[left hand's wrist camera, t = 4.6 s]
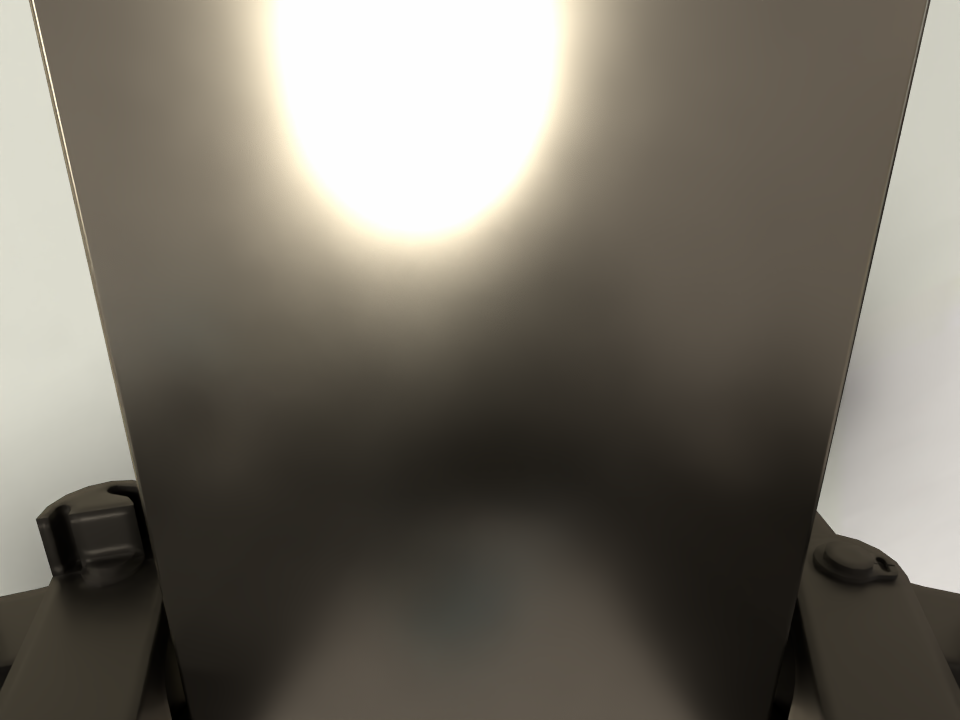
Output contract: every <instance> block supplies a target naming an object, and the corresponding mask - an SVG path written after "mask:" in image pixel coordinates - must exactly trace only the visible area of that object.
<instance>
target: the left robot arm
mask: <svg viewBox="0 0 960 720" xmlns="http://www.w3.org/2000/svg"><path fill="white" fill-rule="evenodd" d="M36 521H37V524H38V528H39V531H40V535H41V538H42V541H43V545H44V548H45V551H46V555H47V558H48V562H49V565H50V568H51V572H52V575H53V578H52V580H51V582H50V584H49V586H47V587H43V588H39V589H35V590H30V591H26V592H21V593H16V594H11V595H6V596H1V597H0V720H190V718H189V713H188V709H187V704H186V700H185V696H184V691H183V687H182V682H181V678H180V673H179V669H178V664H177V660H176V655H175V651H174V646H173V642H172V637H171V633H170V629H169V624H168V620H167V615H166V611H165V606H164V602H163V597H162V593H161V588H160V584H159V579H158V575H157V570H156V566H155V561H154V557H153V553H152V548H151V544H150V539H149V535H148V530H147V526H146V521H145V517H144V512H143V508H142V503H141V499H140V494H139V490H138V486H137V481H134V480H125V481H110V482H105V483H101V484H96V485H92V486H88V487H85V488H83V489H80V490H78V491H75V492H73V493H70V494H67V495H65V496H64V497H62V498H61V499H59V500H57V501H56V502H54V503H52V504H51V505H49V506H48V507H47V508H46V509H45V510H44V511H43V512H42V513H41V514H40V515H39V516H38V518H37V519H36ZM770 720H960V594H958V593H953V592H948V591H943V590H939V589H934V588H929V587H924V586H920V585H916V584H913V583H910V581H909V579H908V577H907V575H906V574H905V572H904V571H903V570H902V569H901V567H900V566H899V565H898V563H897V562H896V561H894V560H893V559H892V558H890V557H889V556H887V555H886V554H885V553H883V552H882V551H881V550H879V549H877V548H875V547H873V546H870V545H868V544H866V543H864V542H862V541H859V540H857V539H853V538H849V537H845V536H841V535H837V534H835V532H834V531H833V530H832V529H831V528H830V526H829V525H828V524H827V523H826V522H825V520H824V519H823V518H822V517H821V515H820V514H819V513H818V512H817V511H816V515H815V519H814V524H813V528H812V533H811V537H810V542H809V546H808V550H807V555H806V559H805V564H804V568H803V573H802V577H801V582H800V586H799V591H798V595H797V600H796V604H795V609H794V613H793V618H792V622H791V627H790V631H789V635H788V640H787V644H786V649H785V653H784V658H783V662H782V667H781V671H780V676H779V680H778V685H777V689H776V694H775V698H774V703H773V707H772V712H771V716H770Z"/></svg>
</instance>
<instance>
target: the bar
mask: <svg viewBox="0 0 960 720" xmlns="http://www.w3.org/2000/svg"><path fill="white" fill-rule="evenodd" d="M29 3H30V7H31V12H32V16H33V21H34V25H35V30H36V34H37V39H38V43H39V48H40V52H41V57H42V61H43V65H44V70H45V74H46V79H47V83H48V88H49V92H50V97H51V101H52V106H53V110H54V115H55V119H56V124H57V128H58V132H59V137H60V141H61V146H62V150H63V155H64V159H65V164H66V168H67V173H68V177H69V182H70V186H71V191H72V195H73V200H74V204H75V208H76V213H77V217H78V222H79V226H80V231H81V235H82V240H83V244H84V249H85V253H86V258H87V262H88V267H89V271H90V275H91V280H92V284H93V289H94V293H95V298H96V302H97V307H98V311H99V316H100V320H101V325H102V329H103V334H104V338H105V343H106V347H107V351H108V356H109V360H110V365H111V369H112V374H113V378H114V383H115V387H116V392H117V396H118V401H119V405H120V410H121V414H122V418H123V423H124V427H125V432H126V436H127V441H128V445H129V450H130V454H131V459H132V463H133V468H134V472H135V477H136V481H137V486H138V490H139V494H140V499H141V503H142V508H143V512H144V517H145V521H146V526H147V530H148V535H149V539H150V544H151V548H152V553H153V557H154V561H155V566H156V570H157V575H158V579H159V584H160V588H161V593H162V597H163V602H164V606H165V611H166V615H167V620H168V624H169V629H170V633H171V637H172V642H173V646H174V651H175V655H176V660H177V664H178V669H179V673H180V678H181V682H182V687H183V691H184V696H185V700H186V704H187V709H188V713H189V718H190V720H770V716H771V712H772V707H773V703H774V698H775V694H776V689H777V685H778V680H779V676H780V671H781V667H782V662H783V658H784V653H785V649H786V644H787V640H788V635H789V631H790V627H791V622H792V618H793V613H794V609H795V604H796V600H797V595H798V591H799V586H800V582H801V577H802V573H803V568H804V564H805V559H806V555H807V550H808V546H809V542H810V537H811V533H812V528H813V524H814V519H815V515H816V510H817V506H818V501H819V497H820V492H821V488H822V483H823V479H824V474H825V470H826V465H827V461H828V457H829V452H830V448H831V443H832V439H833V434H834V430H835V425H836V421H837V416H838V412H839V407H840V403H841V398H842V394H843V389H844V385H845V380H846V376H847V372H848V367H849V363H850V358H851V354H852V349H853V345H854V340H855V336H856V331H857V327H858V322H859V318H860V313H861V309H862V304H863V300H864V295H865V291H866V287H867V282H868V278H869V273H870V269H871V264H872V260H873V255H874V251H875V246H876V242H877V237H878V233H879V228H880V224H881V219H882V215H883V210H884V206H885V202H886V197H887V193H888V188H889V184H890V179H891V175H892V170H893V166H894V161H895V157H896V152H897V148H898V143H899V139H900V134H901V130H902V125H903V121H904V117H905V112H906V108H907V103H908V99H909V94H910V90H911V85H912V81H913V76H914V72H915V67H916V63H917V58H918V54H919V49H920V45H921V40H922V36H923V32H924V27H925V23H926V18H927V14H928V9H929V5H930V0H29Z"/></svg>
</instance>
